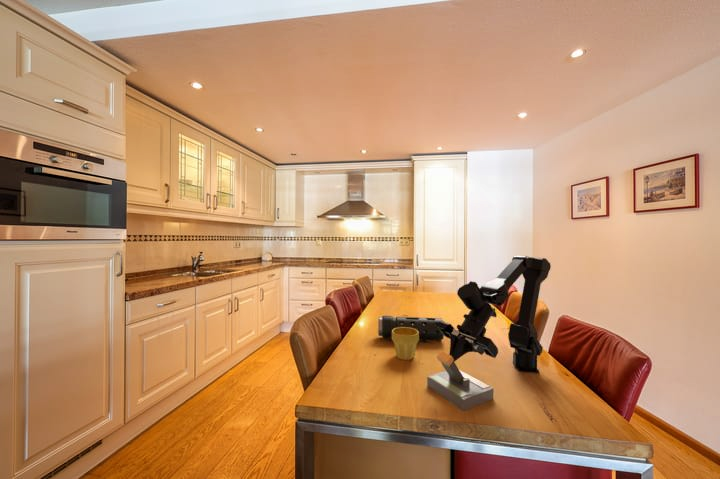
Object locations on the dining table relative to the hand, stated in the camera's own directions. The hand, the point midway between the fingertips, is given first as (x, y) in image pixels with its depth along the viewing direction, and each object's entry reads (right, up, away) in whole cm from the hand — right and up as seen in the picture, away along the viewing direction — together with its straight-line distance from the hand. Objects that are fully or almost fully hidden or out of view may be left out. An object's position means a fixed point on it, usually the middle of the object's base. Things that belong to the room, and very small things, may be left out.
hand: (450, 361), depth 82 cm
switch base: (+3, -10, +2) cm, 11 cm away
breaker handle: (+3, -7, +2) cm, 7 cm away
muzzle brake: (-4, -10, +44) cm, 45 cm away
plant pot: (-9, -10, +27) cm, 30 cm away
